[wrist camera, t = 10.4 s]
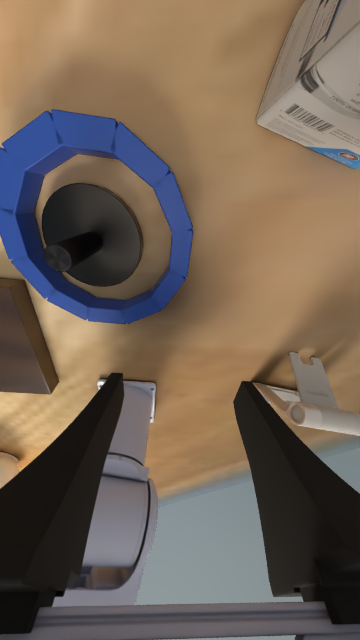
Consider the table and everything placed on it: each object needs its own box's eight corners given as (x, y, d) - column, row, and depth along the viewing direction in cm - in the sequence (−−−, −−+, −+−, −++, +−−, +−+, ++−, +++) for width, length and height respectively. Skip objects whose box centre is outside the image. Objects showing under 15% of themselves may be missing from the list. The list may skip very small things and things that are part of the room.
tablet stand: (246, 387, 27) (270, 452, 20) (275, 347, 24) (317, 410, 16) (296, 397, 29) (335, 461, 22) (332, 361, 25) (394, 424, 18)
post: (142, 286, 19) (128, 321, 14) (60, 278, 18) (10, 311, 13) (143, 191, 15) (123, 185, 9) (36, 177, 14) (-52, 162, 9)
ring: (179, 317, 21) (180, 329, 19) (43, 305, 20) (29, 316, 18) (202, 142, 13) (206, 133, 11) (-18, 108, 12) (-53, 92, 10)
